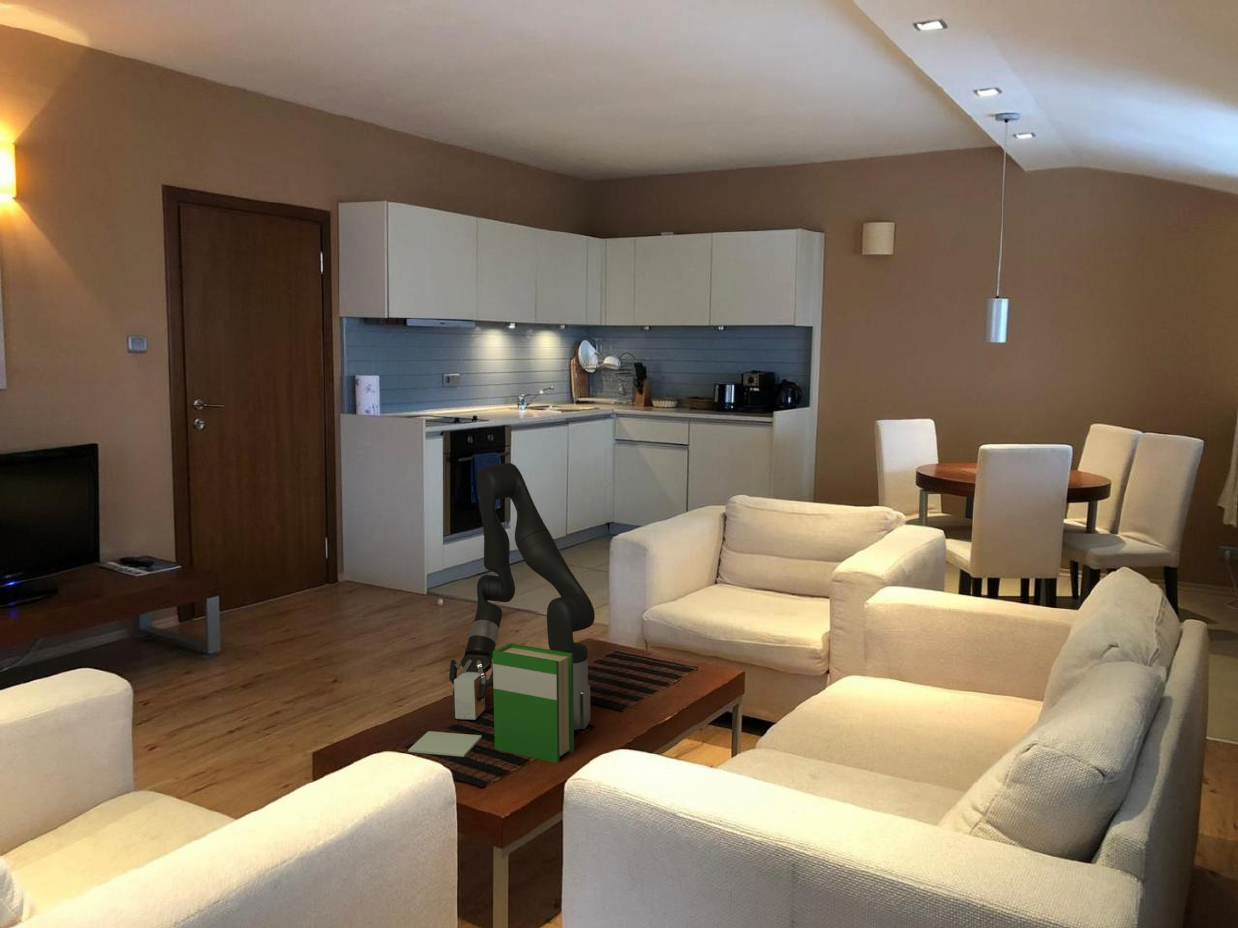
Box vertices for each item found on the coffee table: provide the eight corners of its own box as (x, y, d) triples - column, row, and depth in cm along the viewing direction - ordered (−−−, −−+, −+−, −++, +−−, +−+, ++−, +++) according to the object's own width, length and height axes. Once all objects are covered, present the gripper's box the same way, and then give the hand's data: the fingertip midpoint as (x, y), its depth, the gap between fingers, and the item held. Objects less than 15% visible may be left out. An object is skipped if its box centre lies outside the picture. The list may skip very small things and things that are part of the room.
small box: (475, 720, 257) (474, 680, 256) (454, 719, 258) (453, 679, 257) (485, 709, 265) (484, 670, 264) (465, 708, 266) (464, 669, 265)
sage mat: (481, 737, 247) (481, 735, 247) (463, 756, 235) (463, 754, 235) (428, 733, 250) (428, 731, 250) (408, 751, 238) (408, 749, 238)
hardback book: (573, 751, 238) (573, 653, 235) (557, 763, 232) (556, 661, 229) (512, 738, 246) (510, 643, 244) (494, 748, 240) (492, 651, 237)
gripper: (453, 632, 268) (437, 690, 258) (504, 635, 265) (490, 694, 255) (461, 646, 274) (445, 703, 263) (511, 649, 271) (497, 707, 260)
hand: (467, 698), depth 259 cm, fingers closed on small box, 5 cm apart
